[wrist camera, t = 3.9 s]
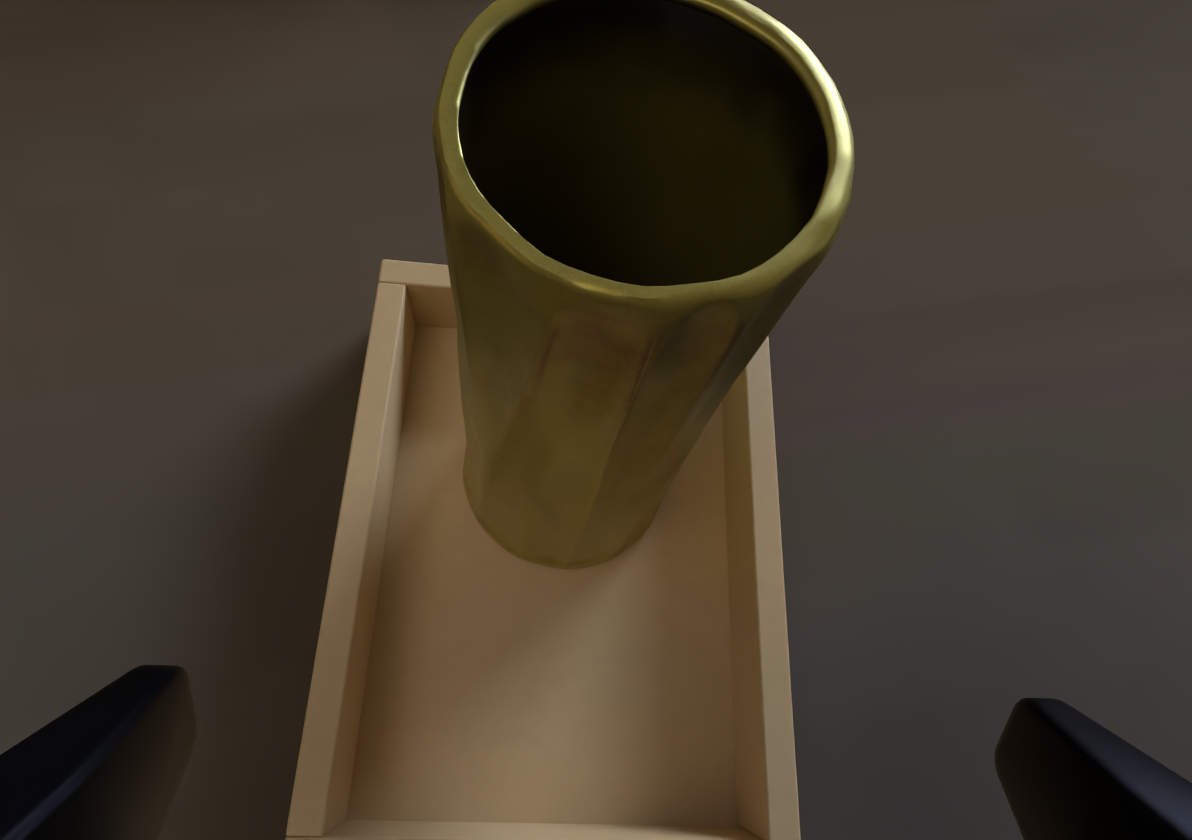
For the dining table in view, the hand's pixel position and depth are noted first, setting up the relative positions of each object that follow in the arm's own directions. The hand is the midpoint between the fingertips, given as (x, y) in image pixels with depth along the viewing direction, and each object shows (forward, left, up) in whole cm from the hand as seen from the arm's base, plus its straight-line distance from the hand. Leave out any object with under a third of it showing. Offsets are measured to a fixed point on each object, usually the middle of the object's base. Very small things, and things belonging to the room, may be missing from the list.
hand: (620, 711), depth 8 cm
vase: (+3, +6, -13) cm, 14 cm away
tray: (+2, +4, -13) cm, 14 cm away
